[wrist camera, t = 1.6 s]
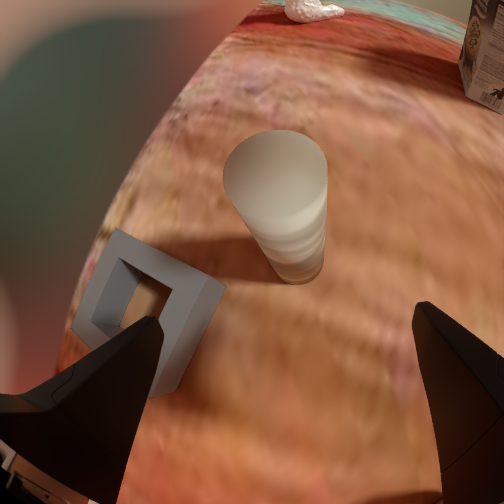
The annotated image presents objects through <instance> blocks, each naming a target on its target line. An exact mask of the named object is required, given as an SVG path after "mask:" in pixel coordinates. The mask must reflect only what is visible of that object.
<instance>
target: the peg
mask: <svg viewBox="0 0 504 504" xmlns="http://www.w3.org/2000/svg"><path fill="white" fill-rule="evenodd" d="M223 185H224V189H225V191H226V194H227V195H228V197H229V198H230V200H231V202H232V203H233V205H234V206H235V208H236V210H237V211H238V213H239V214H240V216H241V218H242V219H243V221H244V222H245V224H246V225H247V227H248V229H249V230H250V232H251V233H252V235H253V237H254V238H255V240H256V241H257V243H258V245H259V246H260V248H261V249H262V251H263V253H264V254H265V256H266V257H267V259H268V261H269V262H270V264H271V265H272V267H273V269H274V270H275V272H276V273H277V275H278V276H279V277H280V278H281V279H282V280H283V281H285V282H287V283H290V284H294V285H301V284H306V283H308V282H310V281H312V280H313V279H315V278H316V277H317V276H318V274H319V273H320V271H321V269H322V267H323V261H324V246H325V229H326V207H327V162H326V159H325V156H324V154H323V152H322V150H321V149H320V147H319V146H318V145H317V144H316V143H315V142H314V141H312V140H311V139H310V138H308V137H306V136H305V135H302V134H300V133H297V132H294V131H289V130H270V131H265V132H261V133H258V134H255V135H253V136H251V137H249V138H247V139H246V140H244V141H243V142H242V143H240V144H239V145H238V146H237V147H236V148H235V149H234V150H233V151H232V153H231V154H230V155H229V157H228V159H227V161H226V163H225V166H224V170H223Z"/></svg>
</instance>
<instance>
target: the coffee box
mask: <svg viewBox="0 0 504 504" xmlns="http://www.w3.org/2000/svg"><path fill="white" fill-rule="evenodd" d="M458 66H459V70H460V73H461V78H462V82H463V86H464V91H465V95H466V97H467V98H470V99H472V100H474V101H476V102H478V103H480V104H482V105H484V106H486V107H488V108H490V109H492V110H494V111H496V112H498V113H500V114H503V112H504V0H473V2H472V6H471V12H470V17H469V22H468V26H467V31H466V35H465V38H464V43H463V46H462V50H461V54H460V57H459V61H458Z"/></svg>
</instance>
